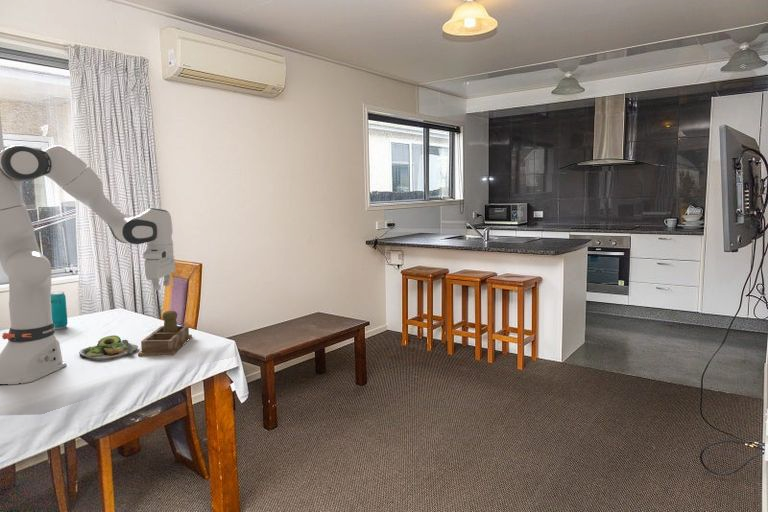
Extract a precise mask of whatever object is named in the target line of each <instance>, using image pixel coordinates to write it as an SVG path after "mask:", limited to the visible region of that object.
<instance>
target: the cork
mask: <svg viewBox="0 0 768 512" xmlns="http://www.w3.org/2000/svg"><path fill="white" fill-rule="evenodd" d="M177 319H178V312H177V311H175V310H167V311H166V310H165V311H164V312H163V313H162V320H164V321H163V326H164V330H163V333H173V332H178V327H177V326H178V323H177Z"/></svg>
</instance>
